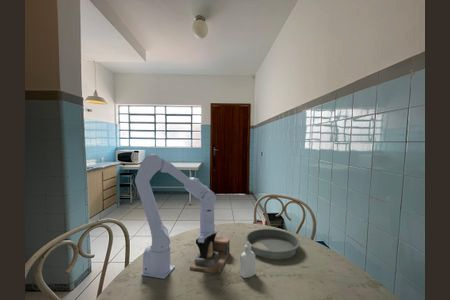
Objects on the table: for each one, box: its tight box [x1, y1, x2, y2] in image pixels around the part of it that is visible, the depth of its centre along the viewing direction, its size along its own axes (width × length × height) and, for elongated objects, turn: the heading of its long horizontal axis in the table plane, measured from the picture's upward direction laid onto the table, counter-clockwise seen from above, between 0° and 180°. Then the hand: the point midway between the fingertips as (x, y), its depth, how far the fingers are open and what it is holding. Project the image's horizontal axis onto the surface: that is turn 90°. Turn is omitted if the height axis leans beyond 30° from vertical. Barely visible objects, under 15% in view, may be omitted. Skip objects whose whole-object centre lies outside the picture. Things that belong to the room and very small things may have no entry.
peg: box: [203, 241, 212, 260], centre depth 85 cm, size 4×4×7 cm
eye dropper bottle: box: [239, 241, 256, 279], centre depth 77 cm, size 4×6×12 cm
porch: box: [189, 236, 231, 275], centre depth 87 cm, size 12×16×6 cm
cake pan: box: [245, 228, 301, 260], centre depth 99 cm, size 25×25×4 cm
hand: (207, 252), depth 85 cm, fingers open, 7 cm apart
